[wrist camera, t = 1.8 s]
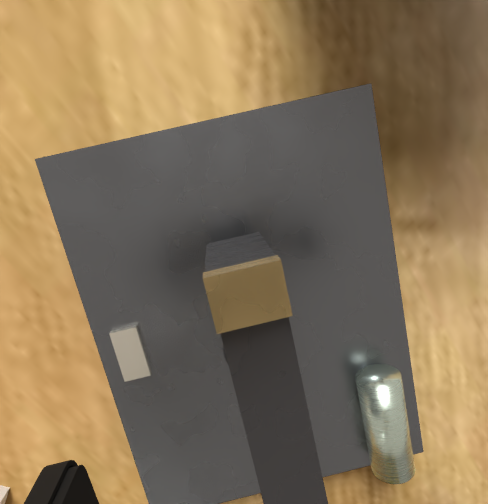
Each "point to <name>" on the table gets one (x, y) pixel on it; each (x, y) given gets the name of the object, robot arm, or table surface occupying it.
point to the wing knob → (264, 366)
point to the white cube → (3, 494)
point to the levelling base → (196, 301)
